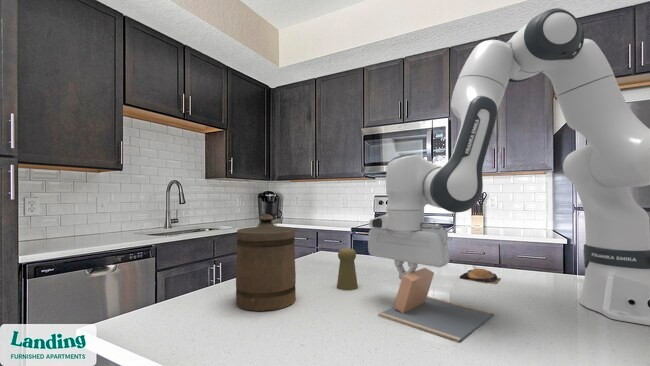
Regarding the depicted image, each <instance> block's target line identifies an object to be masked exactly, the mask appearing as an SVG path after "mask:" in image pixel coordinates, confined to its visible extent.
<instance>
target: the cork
mask: <svg viewBox="0 0 650 366" xmlns="http://www.w3.org/2000/svg"><path fill="white" fill-rule="evenodd" d="M356 257H357V252H356V250H355V249H354V248H349V247H345V248H341V249H339V250H338V252H337V258H338V259H339V265H338V266H339V267H338V272H337V273H338V275H337V282H336V283H337V284H336V288H337V289H338V290H342V291H355V290H357V289H358V287H359V286H358V279H357V272H356V271H357V270H356V265H355V260H356Z"/></svg>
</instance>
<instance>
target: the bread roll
mask: <svg viewBox="0 0 650 366" xmlns="http://www.w3.org/2000/svg"><path fill="white" fill-rule="evenodd" d="M459 280H465V281H469V282H470V281H471V282H477V283H483V284H491V285H497V284H499V282H500V281H501V277H498V276H497V274H496V273H494V272H492V271H490V270H489V269H488V270H487V269H484V268H478V267H477V268H473V269H469V270H468V271H467V272H465V273H462V274H460V276H459Z"/></svg>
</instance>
